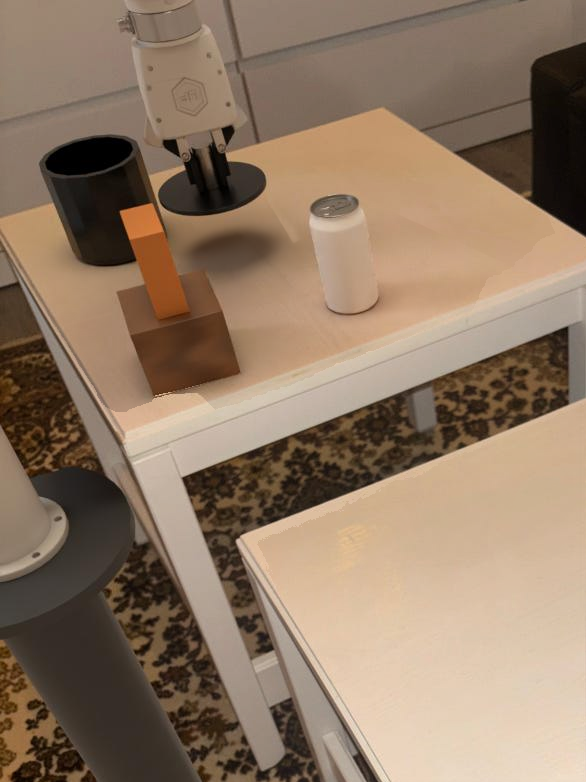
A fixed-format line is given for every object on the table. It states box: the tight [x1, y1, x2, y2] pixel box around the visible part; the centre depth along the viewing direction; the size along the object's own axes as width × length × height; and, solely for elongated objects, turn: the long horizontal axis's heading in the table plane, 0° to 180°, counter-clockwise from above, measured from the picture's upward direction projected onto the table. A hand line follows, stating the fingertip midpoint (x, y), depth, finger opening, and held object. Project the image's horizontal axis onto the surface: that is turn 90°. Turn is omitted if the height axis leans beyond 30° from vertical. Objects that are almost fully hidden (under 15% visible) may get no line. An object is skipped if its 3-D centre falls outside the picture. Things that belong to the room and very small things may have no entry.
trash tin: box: [38, 133, 167, 266], centre depth 130 cm, size 13×13×12 cm
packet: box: [120, 203, 190, 320], centre depth 104 cm, size 4×7×9 cm, turn 22°
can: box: [308, 193, 379, 315], centre depth 115 cm, size 6×6×12 cm
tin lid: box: [157, 140, 267, 217], centre depth 122 cm, size 14×14×6 cm
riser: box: [116, 268, 242, 396], centre depth 111 cm, size 10×10×8 cm
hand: (211, 184), depth 124 cm, fingers closed on tin lid, 2 cm apart
